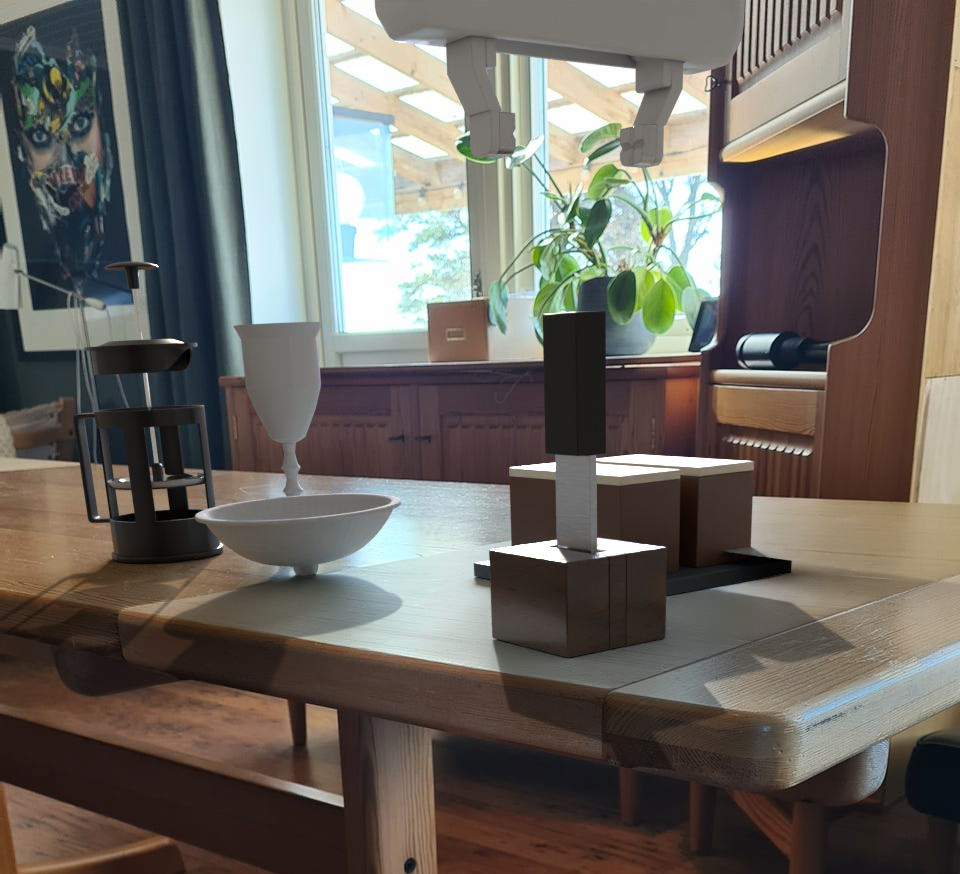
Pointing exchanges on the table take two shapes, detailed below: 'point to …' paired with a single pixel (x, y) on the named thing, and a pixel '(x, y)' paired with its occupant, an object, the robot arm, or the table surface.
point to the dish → (300, 527)
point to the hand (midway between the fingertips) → (570, 161)
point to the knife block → (578, 596)
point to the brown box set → (657, 515)
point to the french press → (147, 529)
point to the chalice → (283, 383)
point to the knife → (575, 419)
